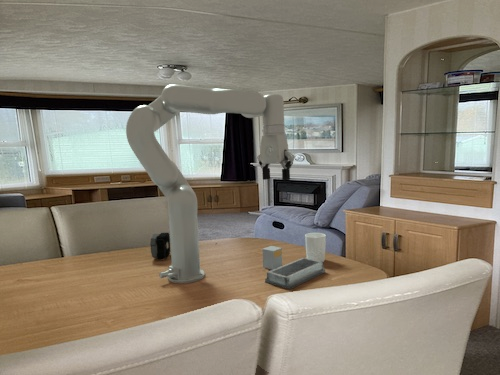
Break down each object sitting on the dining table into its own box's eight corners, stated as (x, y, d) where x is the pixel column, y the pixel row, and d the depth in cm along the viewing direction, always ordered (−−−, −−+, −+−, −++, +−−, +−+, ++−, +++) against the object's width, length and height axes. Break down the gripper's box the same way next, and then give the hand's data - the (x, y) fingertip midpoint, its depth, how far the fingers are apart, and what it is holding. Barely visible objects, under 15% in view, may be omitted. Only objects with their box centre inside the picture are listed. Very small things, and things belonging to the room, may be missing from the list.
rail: (289, 289, 111) (289, 278, 111) (265, 281, 118) (264, 271, 118) (325, 272, 125) (325, 262, 125) (301, 266, 132) (301, 257, 132)
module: (273, 270, 129) (273, 251, 129) (263, 267, 133) (262, 248, 132) (282, 266, 133) (282, 248, 132) (271, 263, 136) (271, 245, 136)
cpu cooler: (158, 254, 154) (156, 230, 153) (171, 253, 154) (170, 230, 153) (150, 261, 144) (149, 236, 143) (164, 261, 143) (163, 236, 142)
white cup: (325, 257, 142) (324, 232, 141) (327, 263, 134) (327, 237, 133) (304, 257, 143) (304, 232, 142) (305, 263, 135) (305, 237, 134)
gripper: (249, 132, 130) (252, 180, 132) (284, 129, 117) (287, 181, 119) (264, 132, 135) (266, 178, 137) (299, 129, 122) (301, 179, 124)
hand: (276, 179), depth 128 cm, fingers open, 9 cm apart
